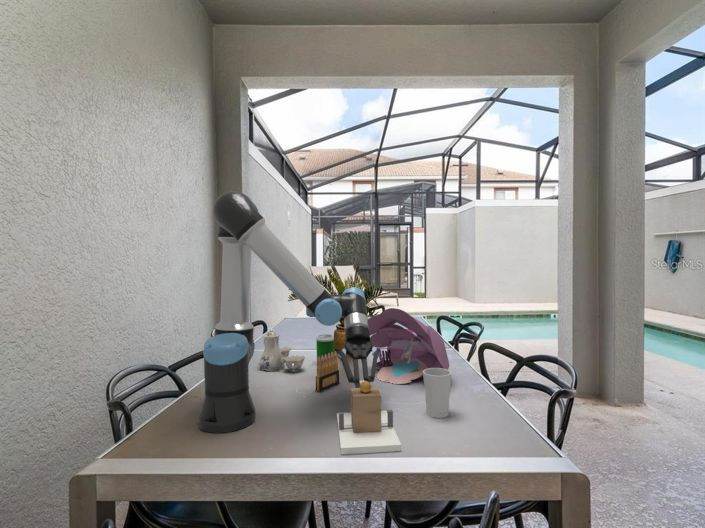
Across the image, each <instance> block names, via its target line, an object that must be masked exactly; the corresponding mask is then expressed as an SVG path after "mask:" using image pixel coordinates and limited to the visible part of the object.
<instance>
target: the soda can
mask: <svg viewBox="0 0 705 528" xmlns="http://www.w3.org/2000/svg"><path fill="white" fill-rule="evenodd" d="M332 352H333V354H334V353H335V338H334V336H333V335H332V334H325V333H324V334H319V335H318V336H317V337H316V361H317V360H318V356H319V357H320V361H321V356H322V355H323V357H324V356H325V354H326V355H327V357H328V353H330V357H331V353H332Z"/></svg>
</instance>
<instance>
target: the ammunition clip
mask: <svg viewBox="0 0 705 528" xmlns="http://www.w3.org/2000/svg"><path fill="white" fill-rule="evenodd" d="M338 384H339V385H340V370H339V362H338V352H337V350H334V354H333V352H332V353H331V357H330V353H328V357H327V355H326V354H325V356H324V357H323V355H322V356H321V361H320V357H319V356H318V360H317V359H316V376H315V392H316V391H317V393H322V392H324V390H325V391H326V390H329V389H332V388H334V387H336V386H338ZM335 385H336V386H335ZM333 386H334V387H333ZM331 387H332V388H331Z"/></svg>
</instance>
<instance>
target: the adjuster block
mask: <svg viewBox="0 0 705 528" xmlns="http://www.w3.org/2000/svg"><path fill="white" fill-rule="evenodd" d="M350 407H351V408H350V413H351V423H352V428H353V432H371V431H381V411H382V394H381V392H380V390H379V388H378V387H377V386H373V387H372V384H371V382H370V383H369V382H368V381H363V382H361V384H360V388H355V387H353V388H352V387H351V388H350Z"/></svg>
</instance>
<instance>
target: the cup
mask: <svg viewBox="0 0 705 528" xmlns="http://www.w3.org/2000/svg"><path fill="white" fill-rule="evenodd" d="M422 378H423V383H424V394H425V406H426V409H425V411H426V415H427V416H428V417H432V418H435V419H442V418H443V419H444V418H447V417H448V416H449V415H450V414H449V413H450V410H449V408H450V396H451V381H452V371H451V370H449V369H448V370H447V369H442V368H428V369H425V370H423V376H422Z"/></svg>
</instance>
